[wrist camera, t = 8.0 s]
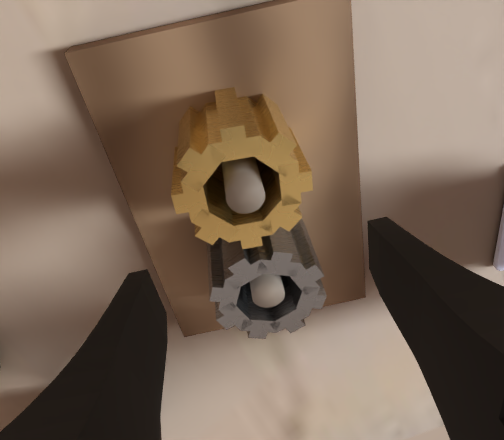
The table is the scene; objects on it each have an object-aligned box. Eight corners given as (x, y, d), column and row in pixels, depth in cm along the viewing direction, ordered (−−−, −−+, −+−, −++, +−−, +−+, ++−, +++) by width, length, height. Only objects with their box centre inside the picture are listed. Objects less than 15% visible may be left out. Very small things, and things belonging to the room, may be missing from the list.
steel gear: (273, 180, 22) (290, 231, 18) (323, 248, 25) (346, 303, 21) (186, 235, 23) (185, 292, 20) (243, 293, 26) (252, 353, 23)
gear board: (341, -15, 19) (390, 3, 14) (359, 284, 29) (390, 351, 24) (71, 46, 19) (32, 85, 14) (184, 323, 29) (183, 396, 24)
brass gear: (285, 78, 19) (308, 114, 16) (295, 185, 22) (315, 236, 19) (162, 99, 19) (155, 140, 16) (189, 204, 22) (188, 258, 19)
